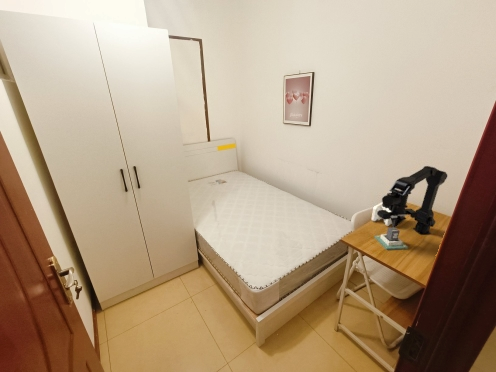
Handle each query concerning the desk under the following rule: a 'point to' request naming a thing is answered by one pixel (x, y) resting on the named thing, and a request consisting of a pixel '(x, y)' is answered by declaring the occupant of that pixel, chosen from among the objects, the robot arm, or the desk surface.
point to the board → (390, 246)
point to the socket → (390, 243)
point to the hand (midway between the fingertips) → (393, 227)
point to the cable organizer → (376, 217)
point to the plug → (392, 234)
